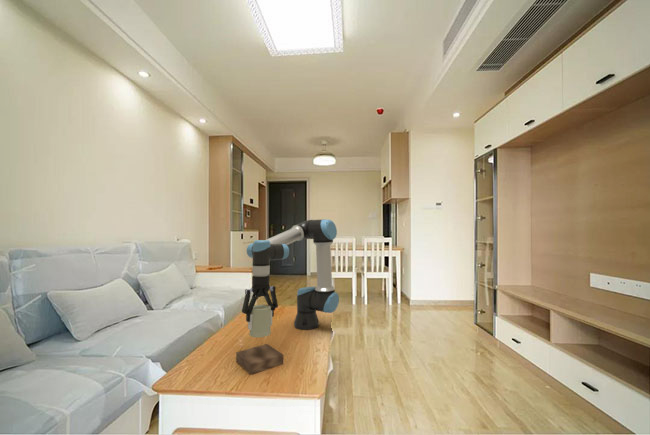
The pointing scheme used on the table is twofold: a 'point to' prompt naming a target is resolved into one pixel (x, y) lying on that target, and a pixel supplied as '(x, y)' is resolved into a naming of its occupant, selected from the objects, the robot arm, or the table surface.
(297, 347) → the table surface
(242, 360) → the brown flat square block
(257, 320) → the can
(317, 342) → the table surface
